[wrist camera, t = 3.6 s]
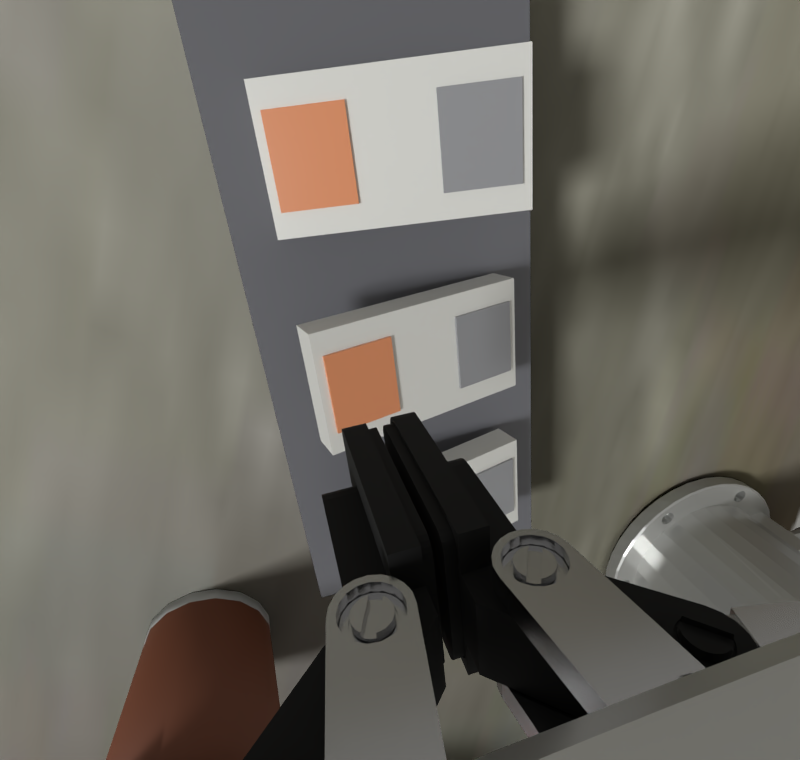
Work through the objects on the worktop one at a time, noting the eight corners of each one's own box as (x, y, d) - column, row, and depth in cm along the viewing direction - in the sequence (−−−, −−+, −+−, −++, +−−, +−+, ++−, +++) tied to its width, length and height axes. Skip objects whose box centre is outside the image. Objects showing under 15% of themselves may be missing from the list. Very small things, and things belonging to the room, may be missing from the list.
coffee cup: (114, 699, 28) (25, 1036, 17) (121, 569, 25) (18, 879, 14) (282, 686, 31) (296, 967, 20) (306, 568, 28) (339, 824, 17)
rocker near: (522, 48, 15) (533, 40, 14) (523, 205, 17) (533, 210, 15) (254, 83, 15) (243, 78, 14) (285, 234, 17) (277, 240, 16)
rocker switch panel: (484, -11, 19) (544, -57, 15) (501, 496, 29) (539, 548, 25) (182, 9, 17) (159, -37, 13) (314, 547, 27) (323, 612, 23)
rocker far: (498, 428, 22) (518, 440, 21) (501, 506, 24) (519, 521, 23) (333, 498, 19) (346, 516, 18) (350, 581, 21) (363, 603, 20)
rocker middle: (493, 273, 19) (515, 278, 18) (496, 375, 21) (517, 385, 20) (296, 325, 16) (309, 335, 15) (320, 440, 18) (334, 456, 17)
